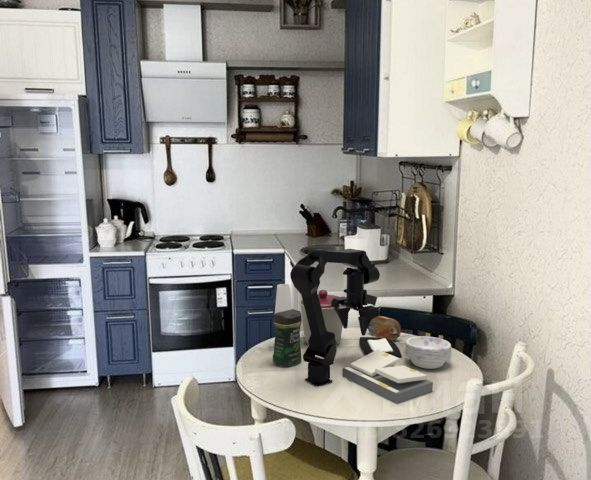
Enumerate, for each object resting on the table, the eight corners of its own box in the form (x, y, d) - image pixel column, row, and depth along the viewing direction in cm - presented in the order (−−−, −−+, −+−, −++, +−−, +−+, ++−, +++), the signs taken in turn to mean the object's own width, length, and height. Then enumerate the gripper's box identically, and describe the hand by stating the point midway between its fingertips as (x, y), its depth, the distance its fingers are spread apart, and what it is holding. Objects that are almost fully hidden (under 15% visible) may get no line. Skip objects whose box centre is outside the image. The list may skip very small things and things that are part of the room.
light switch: (405, 354, 194) (365, 351, 194) (404, 362, 195) (365, 359, 194) (393, 336, 214) (357, 333, 213) (392, 343, 214) (356, 340, 213)
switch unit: (396, 403, 158) (397, 390, 158) (342, 376, 178) (342, 364, 178) (432, 391, 167) (432, 378, 166) (376, 366, 187) (377, 355, 186)
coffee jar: (285, 369, 184) (285, 315, 181) (269, 363, 190) (269, 311, 187) (305, 362, 191) (305, 310, 188) (290, 356, 196) (290, 306, 194)
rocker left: (372, 376, 170) (371, 372, 169) (351, 366, 178) (350, 363, 178) (399, 361, 176) (399, 357, 176) (378, 352, 184) (377, 349, 184)
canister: (289, 343, 210) (288, 289, 207) (322, 333, 222) (322, 282, 219) (322, 355, 197) (323, 298, 194) (356, 344, 209) (357, 290, 206)
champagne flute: (288, 352, 200) (288, 288, 197) (271, 350, 203) (271, 286, 199) (295, 346, 206) (295, 284, 203) (279, 344, 209) (279, 282, 206)
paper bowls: (444, 356, 197) (445, 335, 195) (455, 372, 182) (456, 349, 180) (401, 356, 197) (402, 334, 196) (408, 372, 182) (409, 349, 181)
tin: (366, 334, 222) (366, 313, 221) (371, 332, 224) (371, 312, 223) (396, 343, 211) (397, 322, 210) (401, 341, 213) (402, 320, 212)
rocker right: (398, 383, 160) (399, 378, 160) (374, 372, 168) (375, 368, 168) (426, 379, 167) (427, 375, 167) (402, 369, 175) (403, 365, 175)
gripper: (392, 288, 180) (391, 334, 183) (355, 278, 196) (354, 321, 198) (367, 293, 174) (366, 341, 176) (330, 282, 189) (330, 326, 192)
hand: (354, 331), depth 186 cm, fingers open, 9 cm apart
